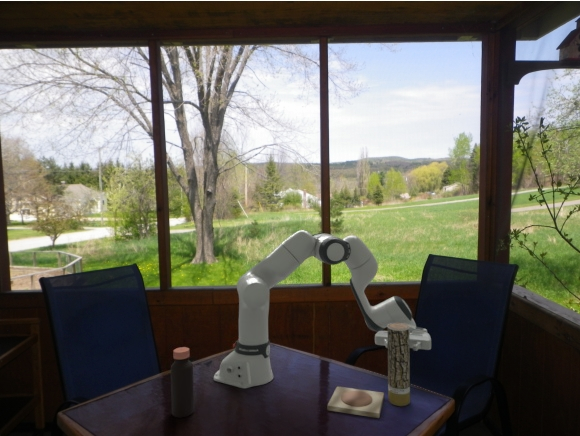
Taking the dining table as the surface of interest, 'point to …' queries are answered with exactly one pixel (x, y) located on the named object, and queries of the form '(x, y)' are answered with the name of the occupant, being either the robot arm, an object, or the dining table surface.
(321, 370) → the dining table surface
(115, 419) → the dining table surface
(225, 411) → the dining table surface
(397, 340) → the bark print tube
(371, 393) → the holder board
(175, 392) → the bottle
